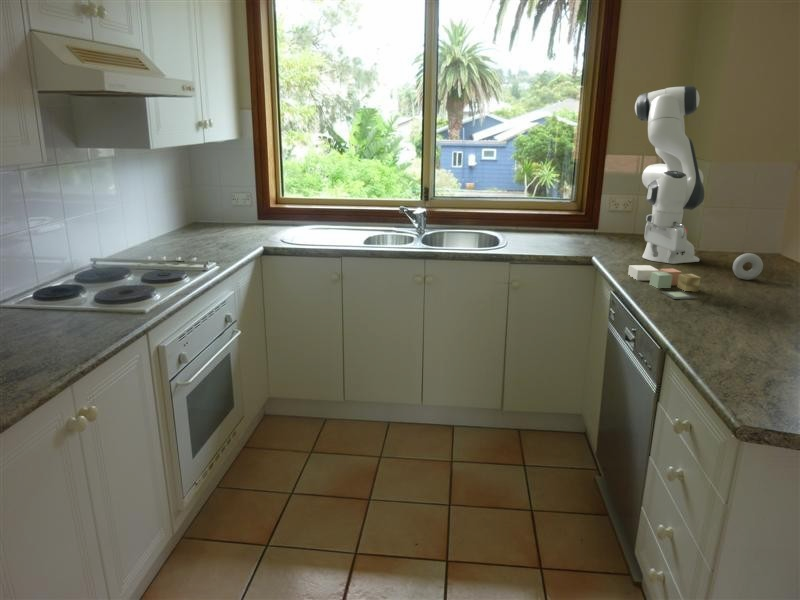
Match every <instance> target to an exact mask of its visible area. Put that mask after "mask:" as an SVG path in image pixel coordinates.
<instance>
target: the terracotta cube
mask: <svg viewBox="0 0 800 600" xmlns="http://www.w3.org/2000/svg"><path fill="white" fill-rule="evenodd" d="M659 270H660V271H659V272H666V273H669V274H671V275H672V282H671V286H677V282H678V276H679V274H682V271H681V270H678V269H676V268H660V269H659Z"/></svg>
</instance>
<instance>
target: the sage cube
mask: <svg viewBox="0 0 800 600" xmlns="http://www.w3.org/2000/svg"><path fill="white" fill-rule="evenodd" d="M671 282H672V275H671V274H669V273H666V272H660V271H659V272H651V278H650V280H649V286H650V285H652V286H654V287H656V288H671V287H672V285H671ZM652 286H651V287H652ZM654 287H653V288H654ZM656 288H655V289H656Z"/></svg>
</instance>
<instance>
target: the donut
mask: <svg viewBox="0 0 800 600" xmlns="http://www.w3.org/2000/svg"><path fill="white" fill-rule="evenodd" d="M747 263H750V264H751V268H750V269H748V270H745V269H744V265H745V264H747ZM763 268H764V262H763V260H762V258H761V257H760V256H759V255H757V254H755V253H752V252H751V253H750V252H747V253H743V254H740V255H739V256H738V257H736V258H735V260H734V261H733V263H732V271H733V273H734V275H735V276H736V277H737V278H739V279H741V280H745V281H747V280H753V279H755V278H757V277H758V276H759V275H760V274H761V273H762V271H763Z"/></svg>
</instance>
